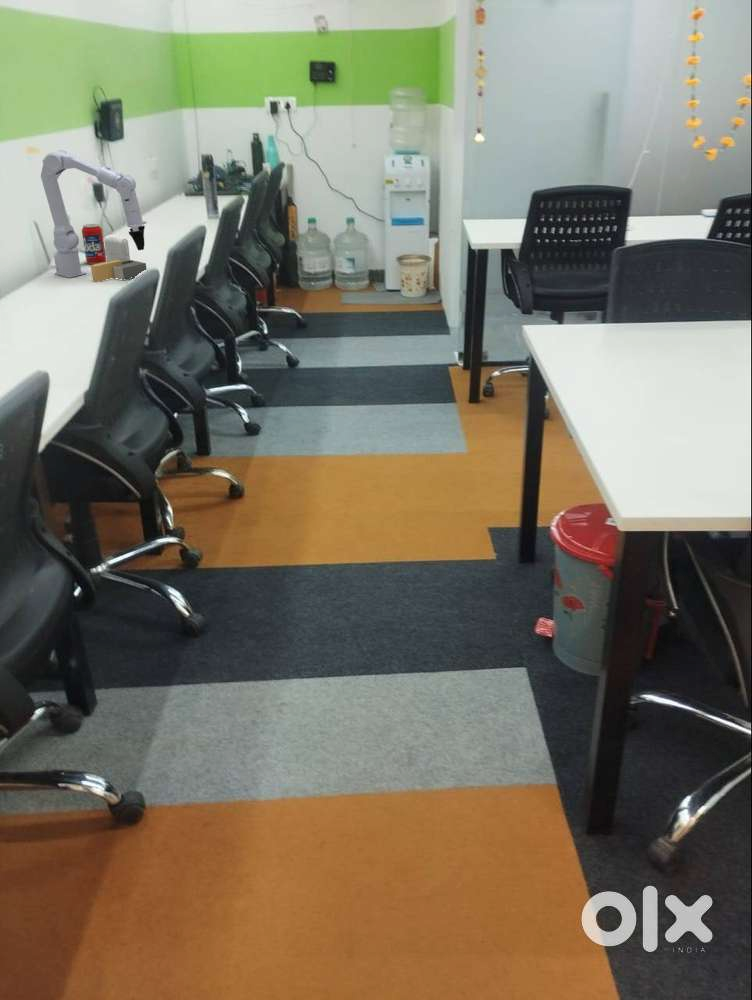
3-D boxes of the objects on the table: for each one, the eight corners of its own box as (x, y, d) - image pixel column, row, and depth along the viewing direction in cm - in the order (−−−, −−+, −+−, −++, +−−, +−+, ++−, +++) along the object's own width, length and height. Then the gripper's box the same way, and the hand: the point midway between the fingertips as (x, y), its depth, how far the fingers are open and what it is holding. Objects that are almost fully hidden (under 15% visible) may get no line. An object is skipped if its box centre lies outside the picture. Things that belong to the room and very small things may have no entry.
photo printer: (132, 267, 336) (128, 235, 331) (125, 269, 333) (120, 237, 327) (113, 264, 341) (109, 232, 335) (106, 266, 338) (101, 234, 332)
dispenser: (100, 275, 324) (99, 263, 322) (125, 269, 332) (123, 258, 330) (122, 280, 317) (121, 268, 315) (147, 275, 325) (145, 263, 323)
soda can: (109, 261, 345) (104, 223, 338) (102, 265, 338) (96, 227, 331) (91, 260, 346) (85, 223, 339) (83, 265, 339) (77, 226, 332)
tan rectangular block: (93, 281, 316) (90, 265, 313) (119, 275, 324) (117, 259, 322) (97, 282, 315) (94, 266, 312) (123, 276, 323) (121, 260, 320)
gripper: (142, 211, 306) (151, 249, 312) (143, 206, 319) (152, 243, 325) (123, 214, 305) (132, 252, 311) (124, 209, 318) (134, 246, 324)
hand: (141, 248), depth 318 cm, fingers open, 7 cm apart
